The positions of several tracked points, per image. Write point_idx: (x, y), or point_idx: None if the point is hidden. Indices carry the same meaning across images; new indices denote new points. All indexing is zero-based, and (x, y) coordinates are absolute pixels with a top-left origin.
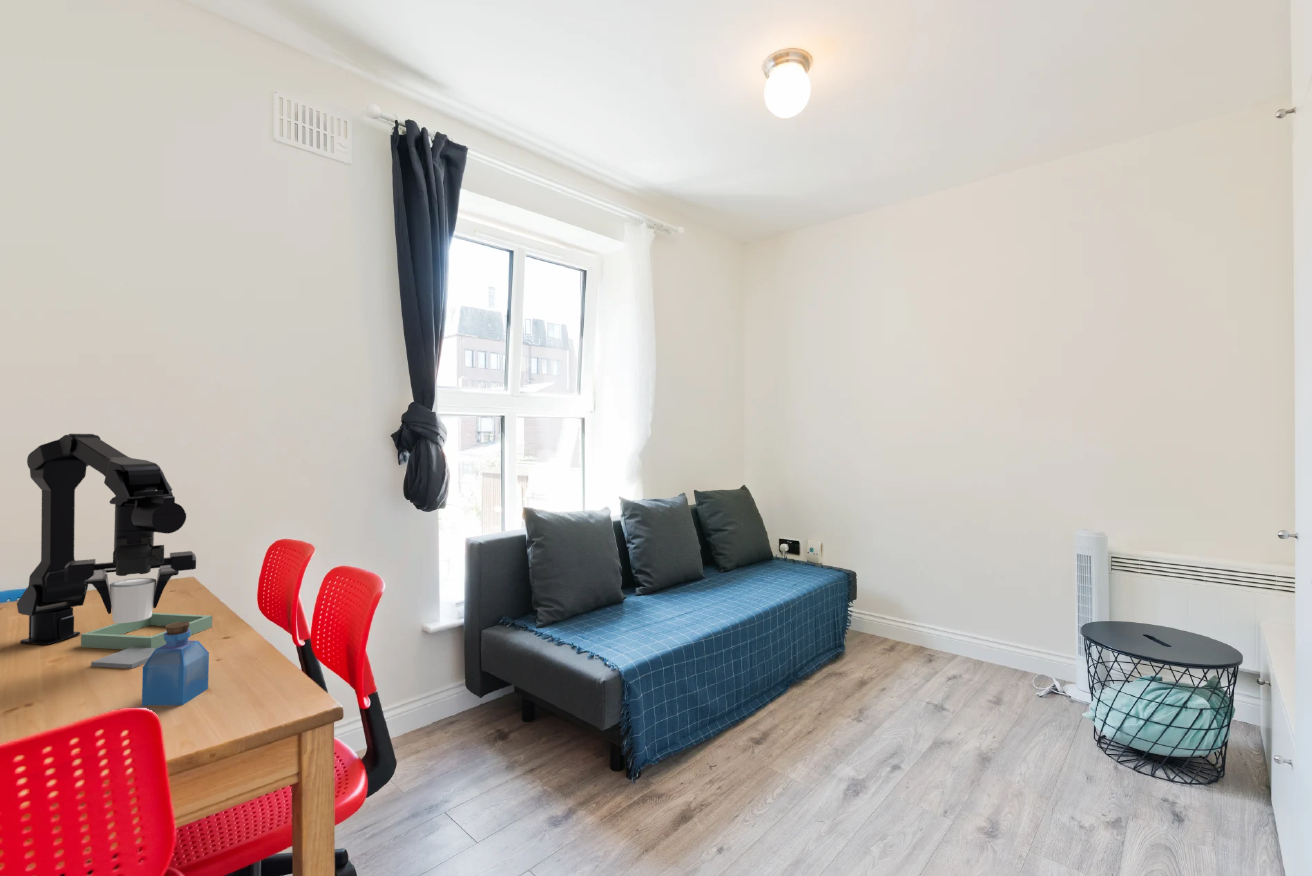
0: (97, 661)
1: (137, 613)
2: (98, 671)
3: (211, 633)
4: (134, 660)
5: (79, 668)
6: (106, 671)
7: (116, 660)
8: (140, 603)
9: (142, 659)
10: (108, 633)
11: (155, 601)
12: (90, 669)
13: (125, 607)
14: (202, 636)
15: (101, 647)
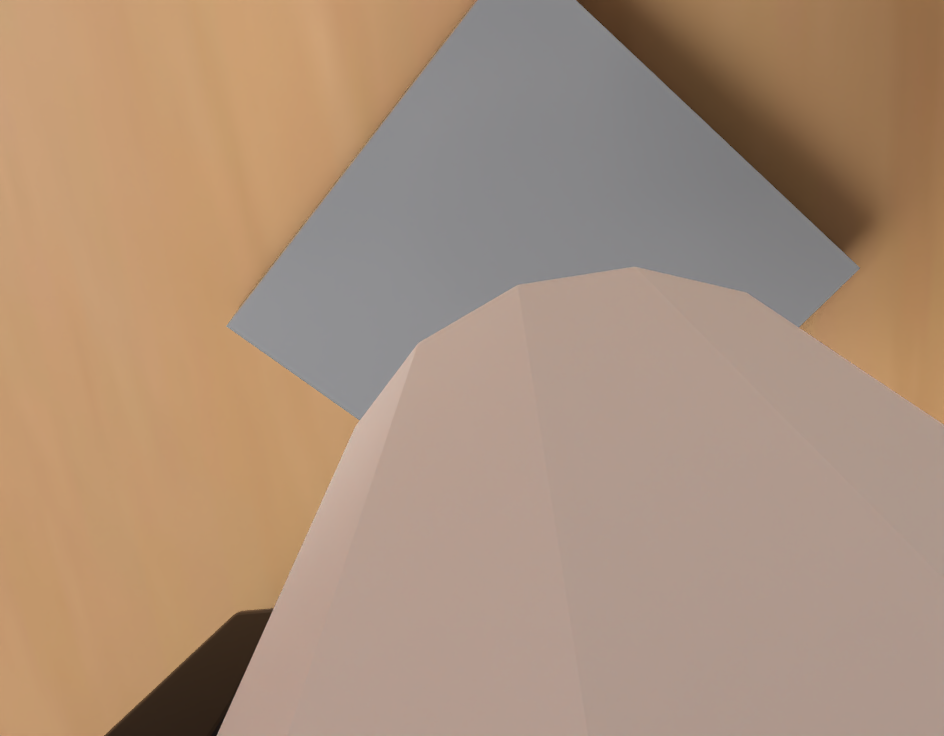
0: (814, 251)
1: (533, 321)
2: (791, 51)
3: (3, 713)
4: (505, 92)
5: (925, 251)
6: (728, 5)
7: (662, 188)
8: (489, 448)
9: (433, 78)
10: None
11: (204, 694)
12: (850, 164)
13: (832, 382)
14: (59, 667)
15: None
